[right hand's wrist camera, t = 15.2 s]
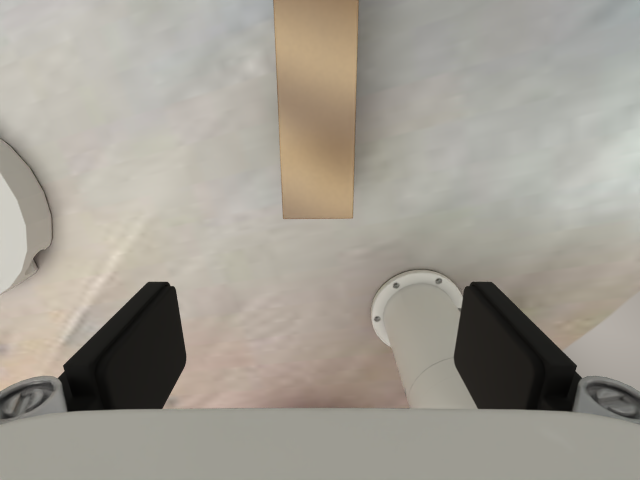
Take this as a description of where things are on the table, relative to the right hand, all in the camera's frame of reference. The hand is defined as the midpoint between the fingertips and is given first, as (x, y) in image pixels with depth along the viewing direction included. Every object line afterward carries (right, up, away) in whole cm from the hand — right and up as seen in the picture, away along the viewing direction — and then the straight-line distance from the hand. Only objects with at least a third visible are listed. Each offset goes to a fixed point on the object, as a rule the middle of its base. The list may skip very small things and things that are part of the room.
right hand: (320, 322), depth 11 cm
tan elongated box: (0, +18, +28) cm, 33 cm away
